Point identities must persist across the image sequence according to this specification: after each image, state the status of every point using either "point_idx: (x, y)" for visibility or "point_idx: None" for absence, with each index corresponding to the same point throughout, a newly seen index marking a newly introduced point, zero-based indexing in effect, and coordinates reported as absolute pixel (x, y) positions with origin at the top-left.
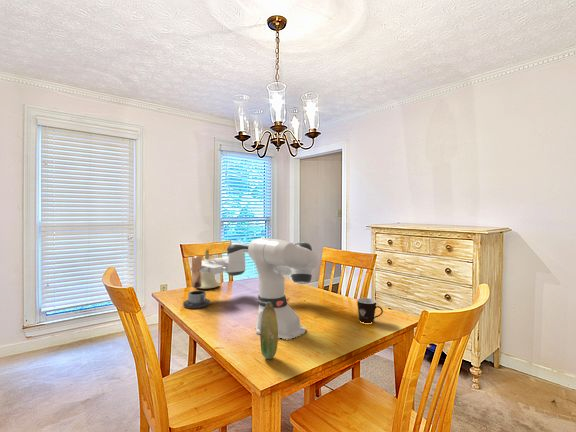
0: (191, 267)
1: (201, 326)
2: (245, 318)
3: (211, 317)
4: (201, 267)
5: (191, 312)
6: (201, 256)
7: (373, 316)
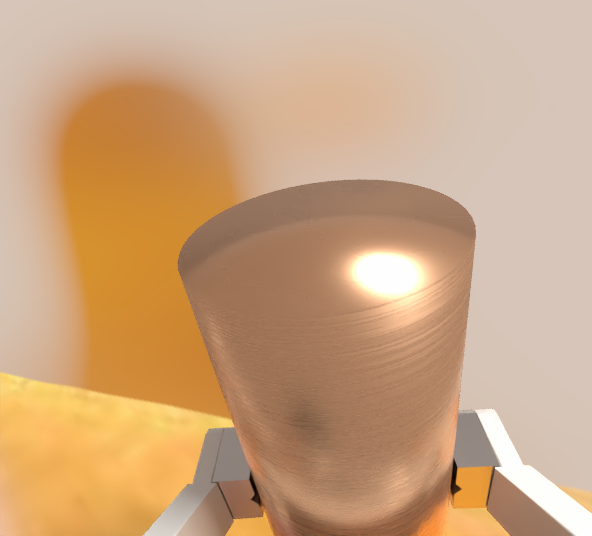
0: (482, 410)
1: (77, 423)
2: None
3: (73, 532)
4: (265, 503)
5: None
6: (234, 306)
7: None
